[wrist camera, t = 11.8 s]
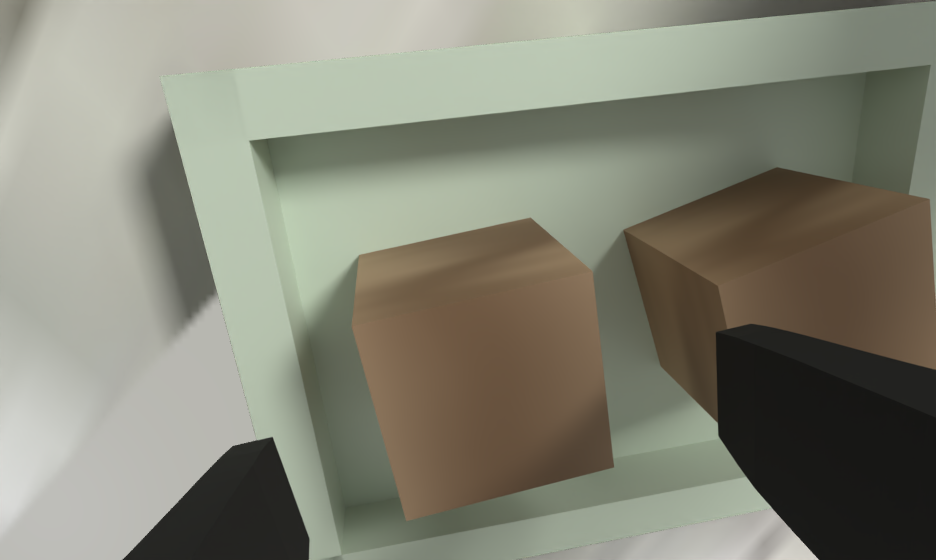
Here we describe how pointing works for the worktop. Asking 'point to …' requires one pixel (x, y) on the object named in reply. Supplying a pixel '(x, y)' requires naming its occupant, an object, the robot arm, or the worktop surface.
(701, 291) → the block
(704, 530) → the worktop surface
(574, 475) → the block
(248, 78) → the tray
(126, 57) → the worktop surface
